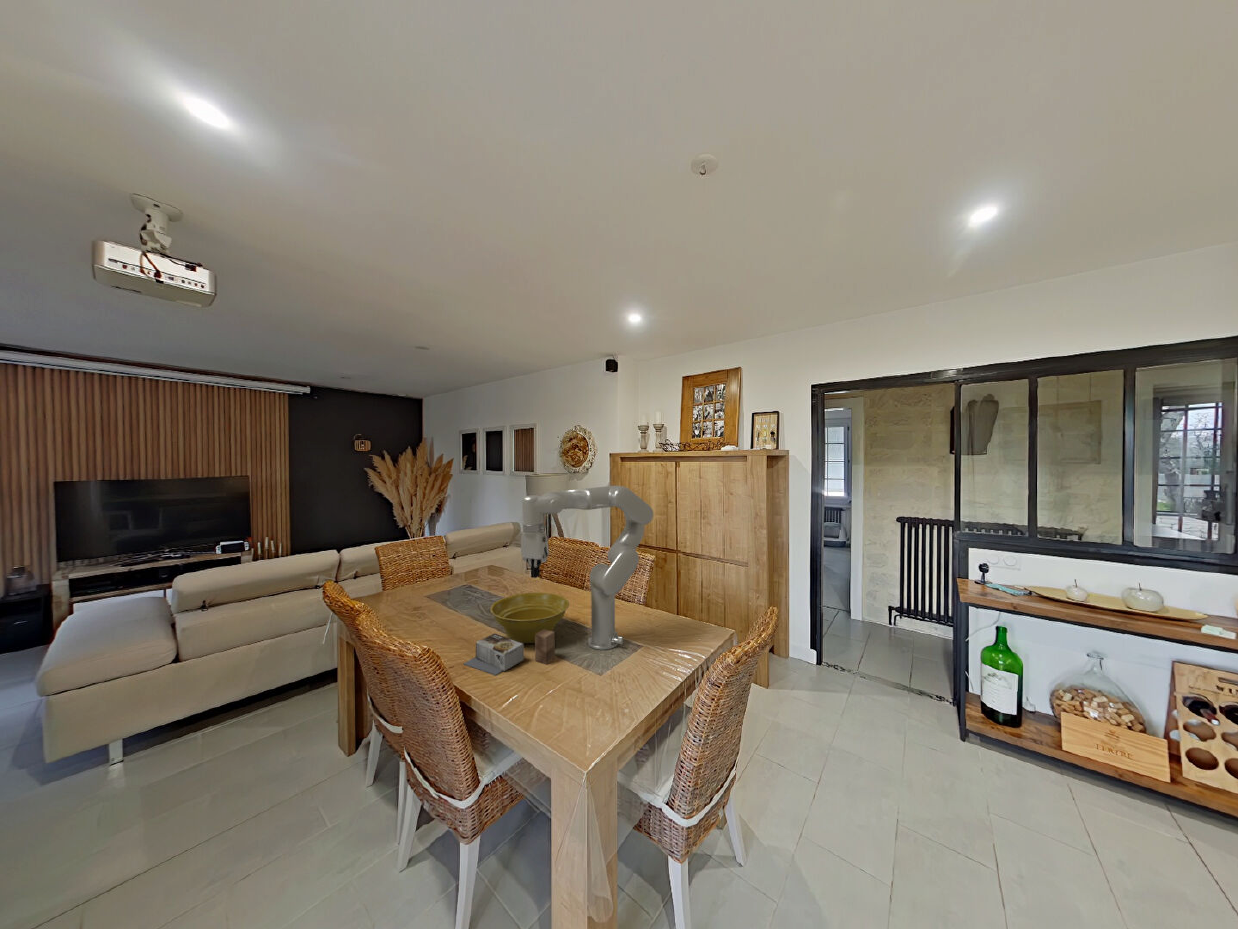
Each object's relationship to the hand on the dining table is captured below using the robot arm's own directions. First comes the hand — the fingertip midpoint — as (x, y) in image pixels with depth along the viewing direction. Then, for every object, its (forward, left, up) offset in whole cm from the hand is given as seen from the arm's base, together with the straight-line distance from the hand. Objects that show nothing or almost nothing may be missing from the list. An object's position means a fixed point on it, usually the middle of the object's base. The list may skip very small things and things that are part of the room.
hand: (535, 576), depth 152 cm
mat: (+11, +12, -30) cm, 34 cm away
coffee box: (+1, +10, -26) cm, 28 cm away
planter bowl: (+13, -12, -30) cm, 35 cm away
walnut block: (-5, +1, -30) cm, 30 cm away
